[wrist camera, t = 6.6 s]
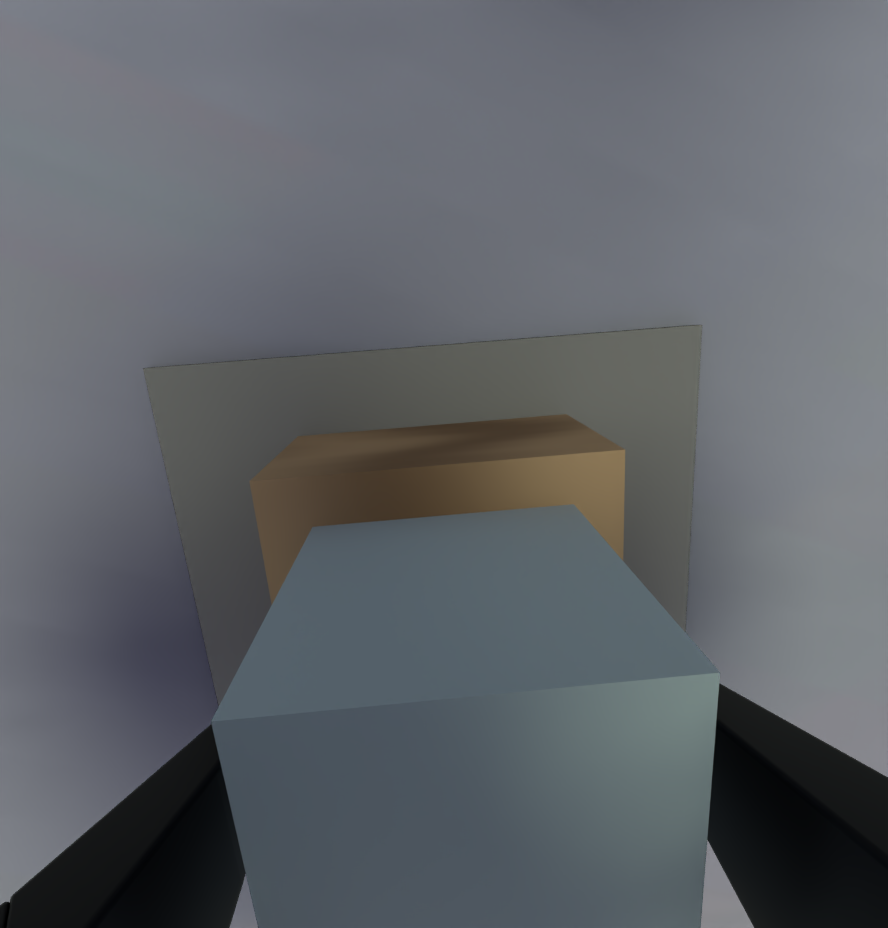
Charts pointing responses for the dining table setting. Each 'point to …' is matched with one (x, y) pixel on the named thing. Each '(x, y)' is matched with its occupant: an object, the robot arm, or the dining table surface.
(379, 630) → the slate block
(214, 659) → the mat
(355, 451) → the tan square block
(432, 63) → the dining table surface
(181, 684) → the dining table surface
